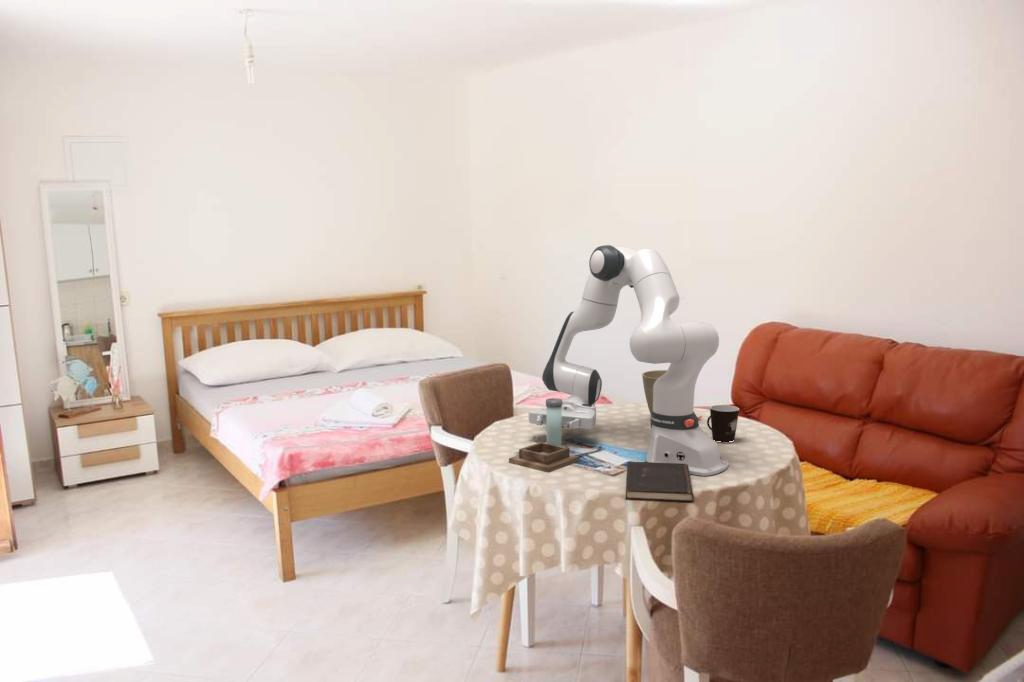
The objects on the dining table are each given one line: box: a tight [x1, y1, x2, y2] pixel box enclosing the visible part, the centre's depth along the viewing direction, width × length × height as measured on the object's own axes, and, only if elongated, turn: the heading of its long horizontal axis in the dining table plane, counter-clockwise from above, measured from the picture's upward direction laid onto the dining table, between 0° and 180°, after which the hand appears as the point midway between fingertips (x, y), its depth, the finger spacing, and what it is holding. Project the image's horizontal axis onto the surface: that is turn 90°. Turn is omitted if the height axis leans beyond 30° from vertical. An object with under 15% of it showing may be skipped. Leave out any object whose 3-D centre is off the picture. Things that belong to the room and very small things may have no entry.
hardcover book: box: [625, 461, 694, 503], centre depth 214 cm, size 16×23×2 cm
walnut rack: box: [508, 441, 581, 473], centre depth 236 cm, size 14×14×4 cm
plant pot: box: [641, 369, 668, 415], centre depth 279 cm, size 15×15×16 cm
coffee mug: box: [706, 404, 740, 442], centre depth 256 cm, size 12×9×10 cm
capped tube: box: [545, 397, 563, 446], centre depth 248 cm, size 5×5×15 cm
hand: (553, 424), depth 247 cm, fingers open, 8 cm apart
